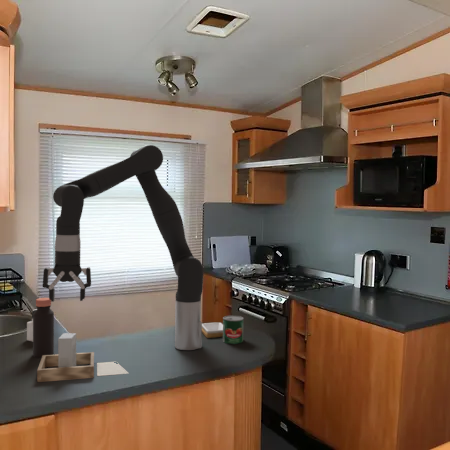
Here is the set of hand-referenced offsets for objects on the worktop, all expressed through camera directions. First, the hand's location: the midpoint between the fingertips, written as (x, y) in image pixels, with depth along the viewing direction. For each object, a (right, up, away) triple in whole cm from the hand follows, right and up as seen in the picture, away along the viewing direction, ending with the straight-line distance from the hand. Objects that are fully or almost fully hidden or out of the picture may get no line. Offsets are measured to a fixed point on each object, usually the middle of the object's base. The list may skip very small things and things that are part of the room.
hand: (67, 300), depth 144 cm
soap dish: (+45, -22, +42) cm, 66 cm away
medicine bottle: (-23, -21, +35) cm, 47 cm away
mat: (+14, -23, +4) cm, 27 cm away
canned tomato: (+52, -23, +32) cm, 65 cm away
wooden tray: (0, -23, 0) cm, 23 cm away
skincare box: (0, -23, 0) cm, 23 cm away
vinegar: (-14, -22, +16) cm, 31 cm away
